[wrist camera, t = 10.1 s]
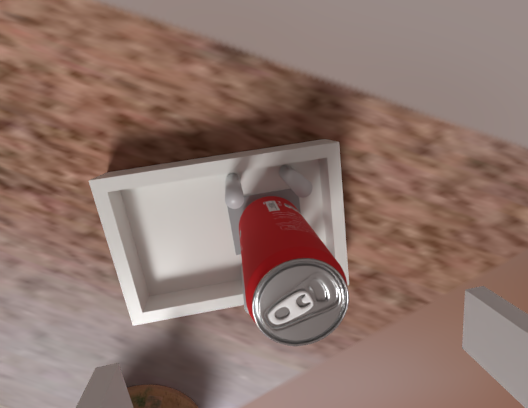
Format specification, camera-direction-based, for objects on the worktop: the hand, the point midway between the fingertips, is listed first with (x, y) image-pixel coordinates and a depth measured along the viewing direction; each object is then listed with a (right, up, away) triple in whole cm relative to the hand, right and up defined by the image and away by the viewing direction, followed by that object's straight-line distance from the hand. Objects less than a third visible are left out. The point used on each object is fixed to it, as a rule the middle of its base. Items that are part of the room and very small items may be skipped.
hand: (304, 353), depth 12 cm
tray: (-4, +4, +15) cm, 17 cm away
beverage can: (-1, +4, +15) cm, 15 cm away
